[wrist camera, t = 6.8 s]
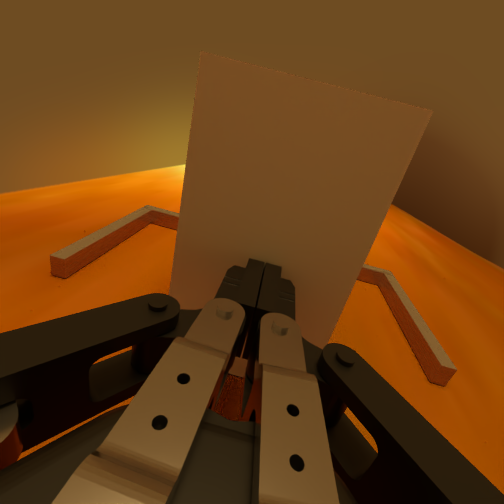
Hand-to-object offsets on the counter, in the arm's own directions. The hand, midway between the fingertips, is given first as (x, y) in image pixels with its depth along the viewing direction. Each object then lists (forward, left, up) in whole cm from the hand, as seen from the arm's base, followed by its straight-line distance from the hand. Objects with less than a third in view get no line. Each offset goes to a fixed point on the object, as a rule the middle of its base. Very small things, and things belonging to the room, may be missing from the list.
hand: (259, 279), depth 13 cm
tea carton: (0, -4, -6) cm, 7 cm away
